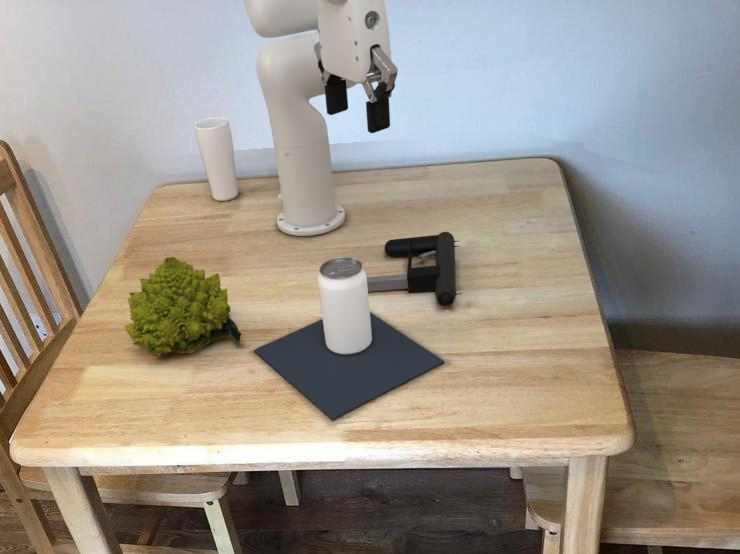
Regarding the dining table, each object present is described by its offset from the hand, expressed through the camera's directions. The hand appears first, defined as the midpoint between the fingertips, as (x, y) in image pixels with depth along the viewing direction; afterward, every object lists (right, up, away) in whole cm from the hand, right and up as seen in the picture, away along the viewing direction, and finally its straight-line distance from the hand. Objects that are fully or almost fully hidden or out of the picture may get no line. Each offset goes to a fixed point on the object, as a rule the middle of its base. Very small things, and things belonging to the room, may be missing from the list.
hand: (357, 120), depth 102 cm
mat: (-1, -32, +2) cm, 32 cm away
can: (-1, -30, +4) cm, 30 cm away
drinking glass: (-24, +2, +52) cm, 57 cm away
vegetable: (-25, -29, +11) cm, 40 cm away
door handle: (+9, -19, +18) cm, 27 cm away
